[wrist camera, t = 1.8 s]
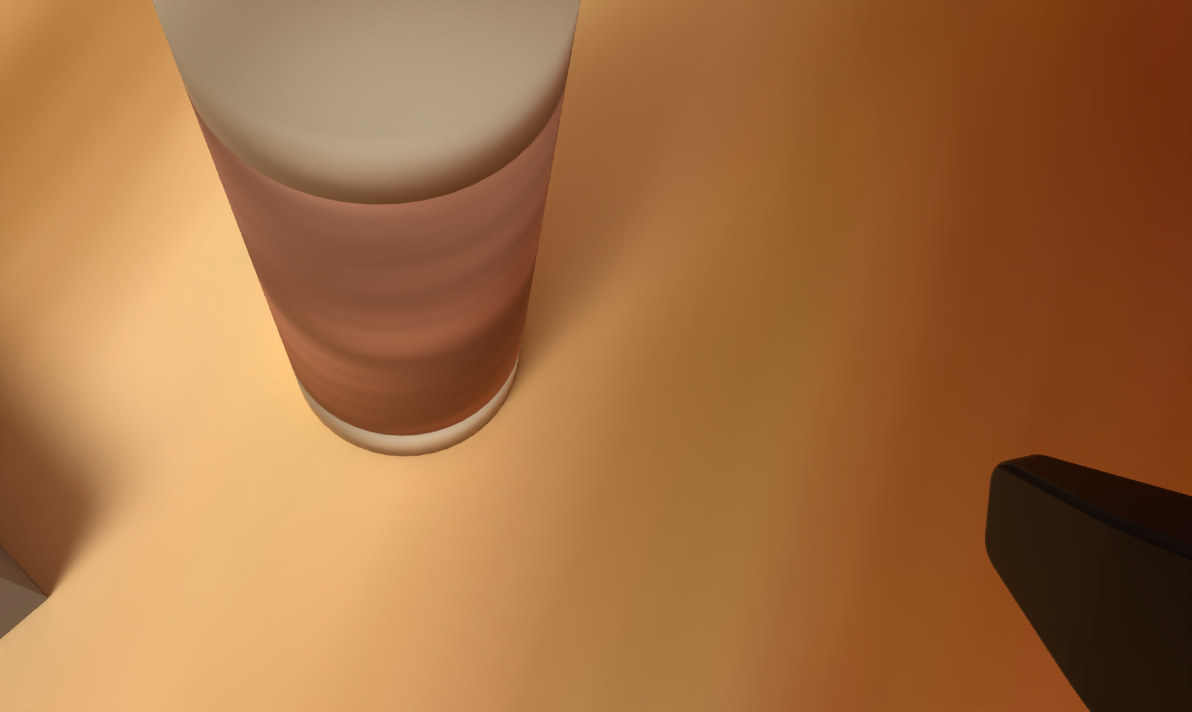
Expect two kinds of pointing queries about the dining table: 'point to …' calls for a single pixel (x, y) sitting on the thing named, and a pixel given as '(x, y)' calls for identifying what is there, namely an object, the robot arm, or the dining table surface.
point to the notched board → (16, 593)
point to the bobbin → (385, 191)
